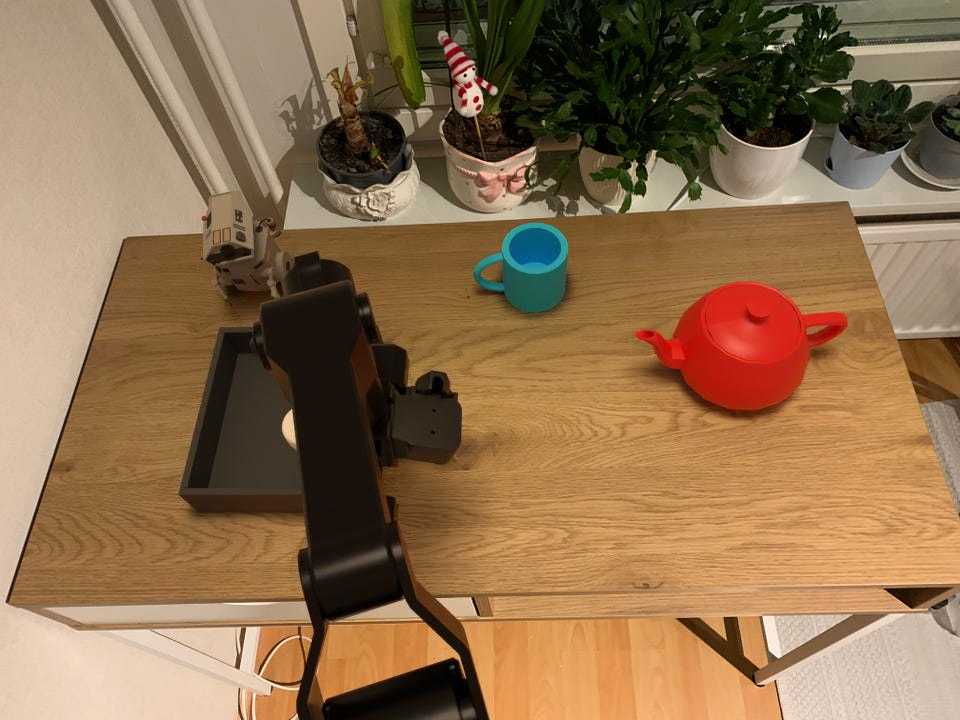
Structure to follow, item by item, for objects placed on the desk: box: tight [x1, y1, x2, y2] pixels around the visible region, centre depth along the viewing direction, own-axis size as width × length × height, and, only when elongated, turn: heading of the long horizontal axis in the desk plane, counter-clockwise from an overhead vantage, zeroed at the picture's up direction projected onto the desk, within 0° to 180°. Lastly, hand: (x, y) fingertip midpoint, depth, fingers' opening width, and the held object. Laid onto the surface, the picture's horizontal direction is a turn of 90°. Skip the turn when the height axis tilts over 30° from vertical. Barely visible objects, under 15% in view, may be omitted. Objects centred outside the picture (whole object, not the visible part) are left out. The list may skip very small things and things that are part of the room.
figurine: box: [200, 190, 296, 307], centre depth 92 cm, size 9×12×15 cm
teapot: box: [633, 281, 849, 411], centre depth 83 cm, size 25×16×12 cm, turn 96°
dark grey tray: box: [178, 324, 385, 513], centre depth 85 cm, size 22×20×6 cm
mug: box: [472, 222, 569, 313], centre depth 93 cm, size 12×8×8 cm
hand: (382, 479), depth 70 cm, fingers open, 9 cm apart
